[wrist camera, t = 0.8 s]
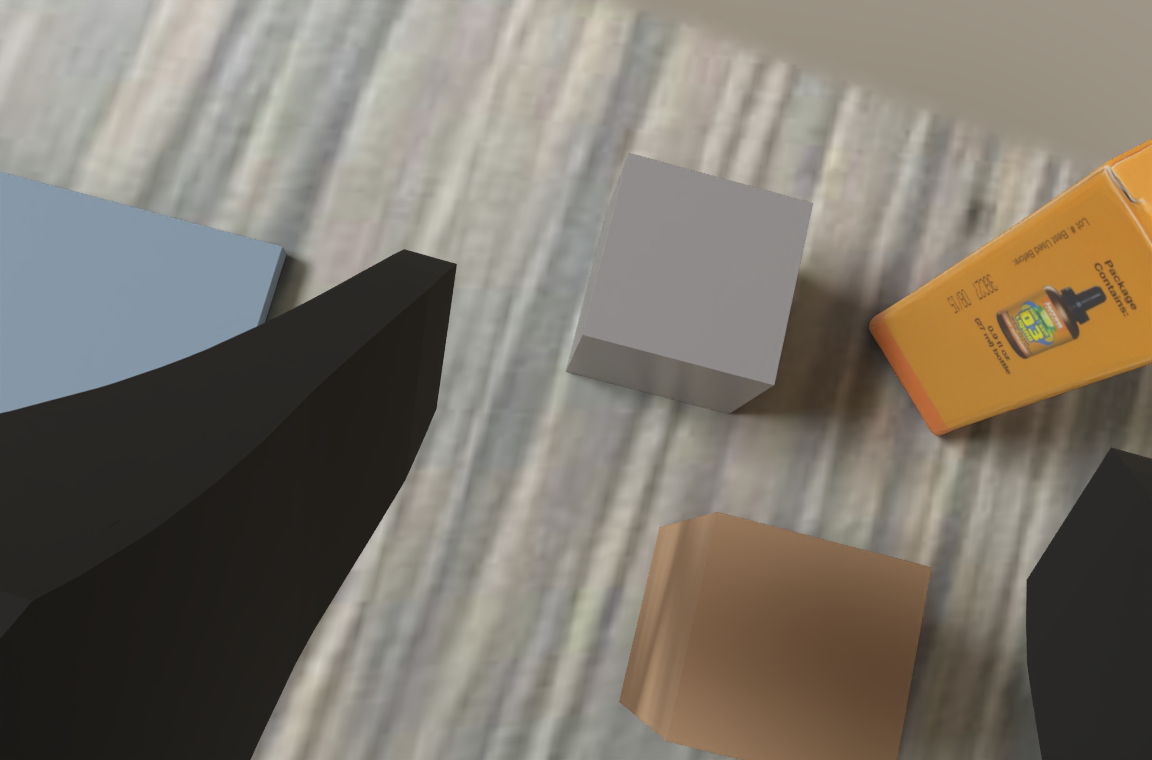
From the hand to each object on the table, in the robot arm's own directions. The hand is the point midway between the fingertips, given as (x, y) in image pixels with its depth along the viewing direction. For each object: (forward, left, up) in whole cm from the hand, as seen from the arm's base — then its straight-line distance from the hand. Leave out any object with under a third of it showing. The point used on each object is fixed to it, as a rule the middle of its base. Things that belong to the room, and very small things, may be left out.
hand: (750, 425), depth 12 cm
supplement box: (+6, -7, -14) cm, 17 cm away
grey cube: (+5, 0, -14) cm, 14 cm away
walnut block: (-2, -3, -14) cm, 14 cm away
